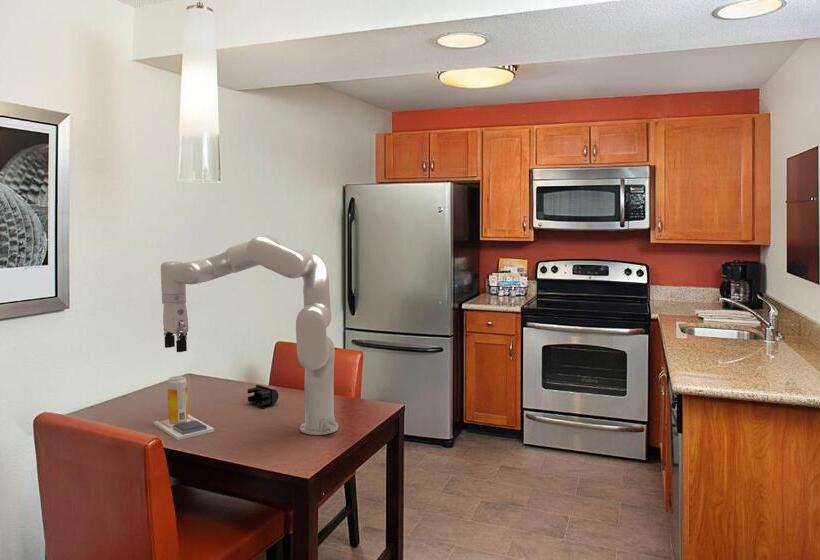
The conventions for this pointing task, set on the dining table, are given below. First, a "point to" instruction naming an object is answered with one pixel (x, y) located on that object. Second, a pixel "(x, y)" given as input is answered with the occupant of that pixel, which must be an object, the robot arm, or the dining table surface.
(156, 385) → the dining table surface
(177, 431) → the stamping board
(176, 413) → the beer can
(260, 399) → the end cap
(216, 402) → the dining table surface
